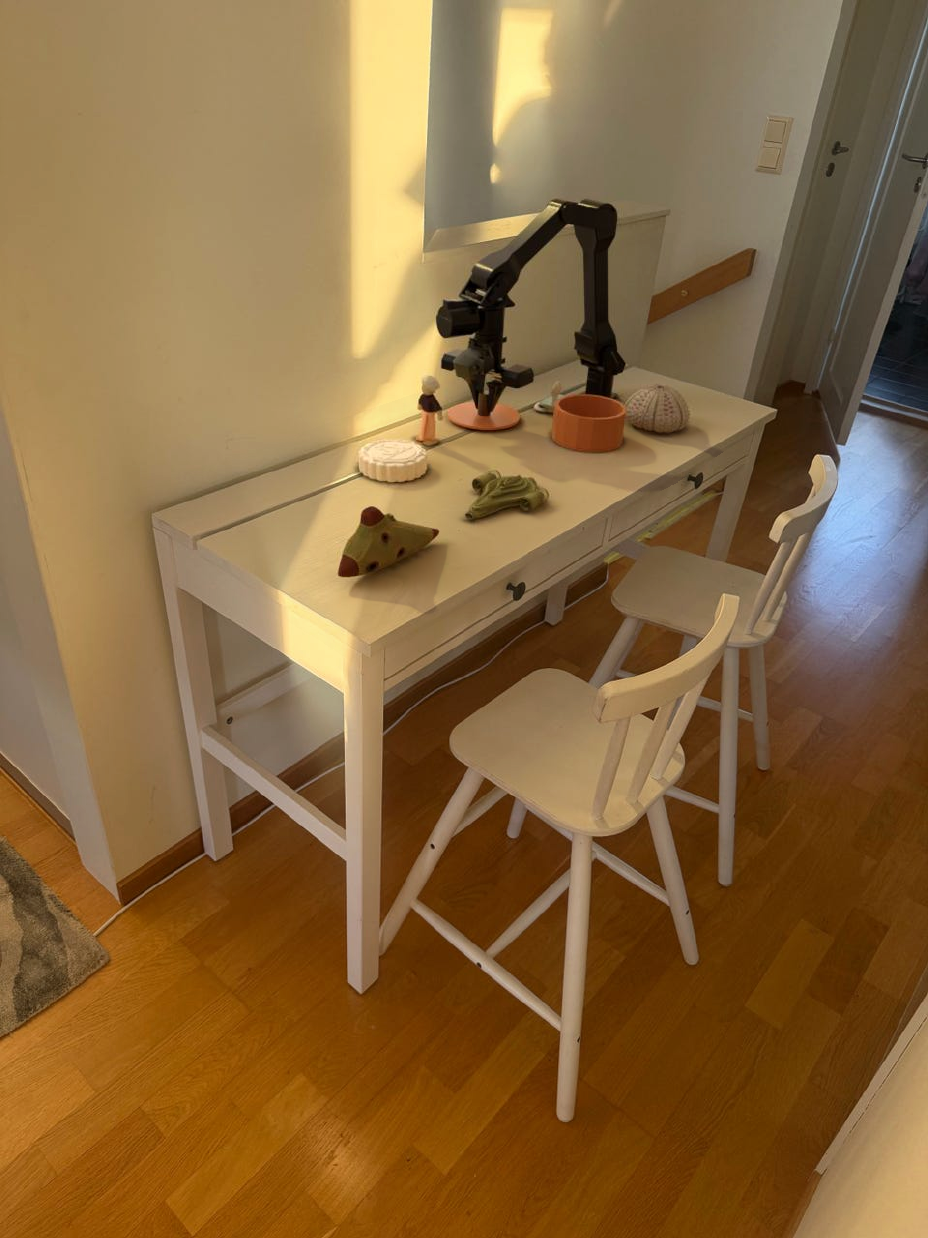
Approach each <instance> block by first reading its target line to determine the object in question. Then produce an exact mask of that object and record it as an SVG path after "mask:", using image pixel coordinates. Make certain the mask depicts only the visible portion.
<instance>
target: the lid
mask: <svg viewBox="0 0 928 1238" xmlns="http://www.w3.org/2000/svg"><path fill="white" fill-rule="evenodd" d="M488 396H489V389H488V390H486V389H484V390H481V391H479V394H478V409H476V407H475V404H474V401H468V402H467V401H466V402H463V403H458V404H455V405H452V407H450V408H449V409H448V411H447V418H448V420H449V421H450V422H452V423H453V424H455V425H458V426H460V427H464V428H468V429H473V430H479V431H480V430H483V431H493V430H495V431H496V430H502V429H507V428H511V427H513V426H516V425H517V424H518V423H519V422H520V421H521V415H520V413H519V411H517V410H516V409H515V408H513V407H511V406H509V405H506V404H502V403H499V402H497V404H496V406H495V408H494V410H493V411H492V412H491V413H488Z"/></svg>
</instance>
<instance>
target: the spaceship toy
mask: <svg viewBox="0 0 928 1238" xmlns="http://www.w3.org/2000/svg"><path fill="white" fill-rule="evenodd" d="M537 484H538V483H537V481H536V480H535V478H534V477H532V476H530V477H523V476H522V475H521V474H518V475H513V476H506V475H503V476H502V475H501V473H500V472H499V470H497V469H492V470H489V471H488V472H485V473H483V474H480V475H479V476H477V477H474V478H473V479H472V481H471V487H472V489H473V490H474V492H477V493H481V494H480V496H479V497H477V499H476V500H475V501H474V502H473V503H471V506H469V507H468V511H467V512H466V513H465V514H464V517H465V518H466V519H467V520H469V521H472V520H475V519H480V518H482V517H485V516H489V515H491V514H494V513H496V512H498V511H500V510H504V509H506V508H510V507H515V506H520V508H521V509H522V510H523V511H525V512H529V511H531V510H533V509H535V508H537V507H539V506H540V505H543V504H544V503H545V501H547V500H549V499H550V493H549V491H548V490H547V488H545V487H540V488H538V485H537Z"/></svg>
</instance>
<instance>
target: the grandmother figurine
mask: <svg viewBox="0 0 928 1238" xmlns="http://www.w3.org/2000/svg"><path fill="white" fill-rule="evenodd" d="M421 383H422V385H421V392H422V393H421V395H420V396H419V398H418V402H417V407H416V409H417V410H418V411H421V420H420V426H419V434H417V435H416V436H415V440H416V441H419V442H422V443H423V445H425V446H433V445H436V444H437V443H438V440H437V439H436V418H437V420H438V421H443V420H444V416H443V408H442V405H441V404H440V402H439V401H438V399H437V398H436V396H435V393H436V391H437V390H438V389H439V388H440V387H441V385H440V383H439V381H438V380H437V378H436V377H435V376H432V375H429V374H425V375H424V376H422V378H421ZM435 416H437V417H435Z"/></svg>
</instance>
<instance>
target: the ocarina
mask: <svg viewBox="0 0 928 1238" xmlns="http://www.w3.org/2000/svg"><path fill="white" fill-rule="evenodd" d="M359 519H360V520H359V524H358V526H357V527H356V530H355V532H354V533H353V534H351V536H350V537H349V538H348V539H347V541H346V544H345V546H344V549H343V551H342V554H341V560H340V561H339V562H340V563H339V566H338V570H337V576H338V577H340V578H354V577H361V576H366V575H369V574H373V573H375V572H379V571H380V570H382V569H384V568H387V567H389V566H391V565H393V564H395V563H398V562H400V561H401V560H403V559H406V558H407V557H409V556H411V555H413V554H415V553H416V552H419V551H420V550H421V549H423V548H425V547H427V546H428V545H429V544H430V543H431V542H432V541H433V540H435V539H436V538H437V537H438V536H439V534H440V530H439V529H438V528H433V527H429V526H424V525H418V524H414V523H409V522H406V521H401V520H397V519H396V518H395V516H394V514H392V513H390V512H387V513H386V514H384V513H383V511H381V510H380V508H378V507H376V506H373V505H371V506H368V507H365V508H364V509H362V511H361V513H360V518H359Z"/></svg>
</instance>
